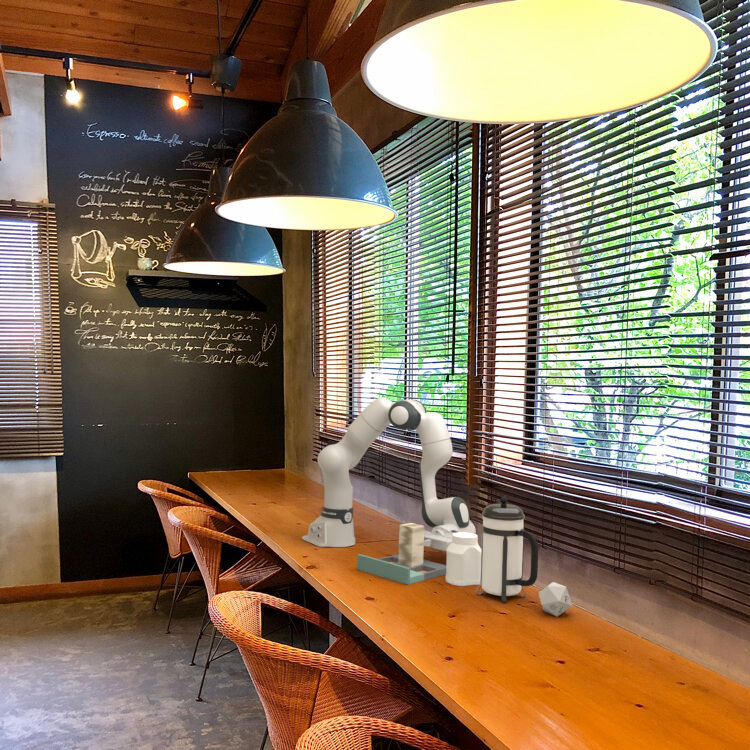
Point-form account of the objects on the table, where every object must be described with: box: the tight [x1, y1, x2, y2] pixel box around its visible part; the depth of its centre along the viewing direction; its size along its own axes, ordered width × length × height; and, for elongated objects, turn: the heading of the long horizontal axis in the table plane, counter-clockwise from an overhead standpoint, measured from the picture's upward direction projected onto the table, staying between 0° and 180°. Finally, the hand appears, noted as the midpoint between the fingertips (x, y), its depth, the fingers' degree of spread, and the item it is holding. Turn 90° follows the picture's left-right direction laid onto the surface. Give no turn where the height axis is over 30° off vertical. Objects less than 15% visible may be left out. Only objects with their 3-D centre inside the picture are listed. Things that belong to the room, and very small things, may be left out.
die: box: [538, 581, 573, 618], centre depth 197 cm, size 8×9×10 cm
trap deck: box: [356, 553, 446, 586], centre depth 236 cm, size 23×22×5 cm
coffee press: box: [475, 496, 539, 604], centre depth 211 cm, size 17×16×30 cm
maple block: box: [398, 522, 425, 567], centre depth 238 cm, size 6×6×13 cm
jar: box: [445, 532, 482, 587], centre depth 226 cm, size 12×10×15 cm
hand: (416, 543), depth 241 cm, fingers closed
